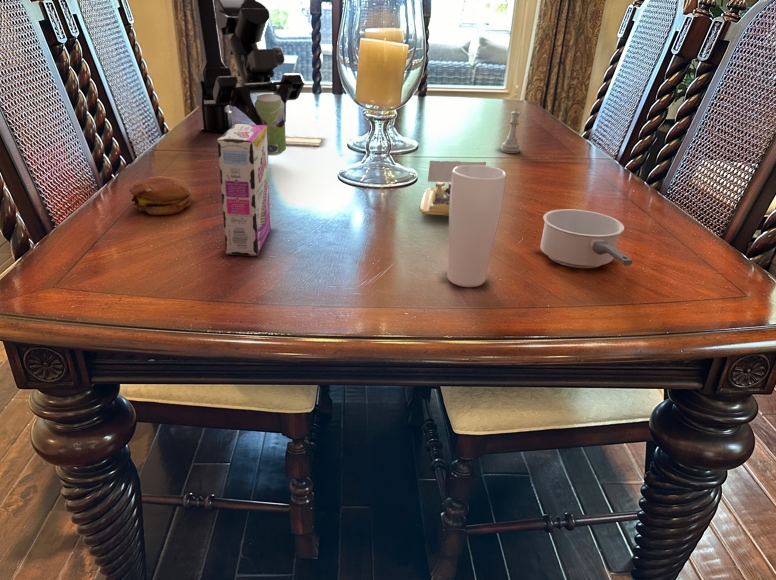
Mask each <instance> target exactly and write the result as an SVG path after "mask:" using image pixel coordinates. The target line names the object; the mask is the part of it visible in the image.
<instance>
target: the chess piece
mask: <svg viewBox="0 0 776 580" xmlns="http://www.w3.org/2000/svg"><path fill="white" fill-rule="evenodd" d="M510 115H511V119H510V121H508V124H509V125H510V129H509V133H508V135H507V137H506V138H505V141H503V142H502V144H501V147H500V151H501V152H502V153H506V154H518V153H519V152H520V143H519V142H518V138H517V126H518V125H520V122H519V120H518V118H519V117H520V115H521V112H520V111H518V108H515V109H514V110H513V111H510Z"/></svg>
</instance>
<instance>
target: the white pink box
mask: <svg viewBox="0 0 776 580" xmlns="http://www.w3.org/2000/svg"><path fill="white" fill-rule="evenodd" d="M232 126H233V127H232V128H231V129H230V130H228V131H227V132H225V133H223V134H222V135H220V137H219V138H217V140H216V142H217V151H218V165H219V166H218V167H219V179H220V191H221V192H220V193H221V204H222V217H223V229H224V240H225V242H224V243H225V254H226V255H229V256H231V255H232V256H246V257H258V256H259V254H260V252H261V249H262V248H263V245H264V243H265V242H266V239H267V238H268V236H269V233H270V232H271V205H270V183H269V182H270V181H269V180H270V179H269V155H268V147H267V126H264V125H256V124H252V123H251V124H250V123H236V124H234V125H232Z"/></svg>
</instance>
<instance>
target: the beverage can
mask: <svg viewBox="0 0 776 580" xmlns="http://www.w3.org/2000/svg"><path fill="white" fill-rule="evenodd" d="M254 107H255V110H256V113H257V115H258V118H259V121H260V125H264V126H267V147H268V156H279V155H282V154H283V153H284V152H285V151H286V150H287V145H286V136H287V135H286V122H285V113H284V103H283V101H282V100H281V97H280V96H279V95H276V94H273V93H260V94H258V95H257V96H256V100H255V101H254Z"/></svg>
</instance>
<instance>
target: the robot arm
mask: <svg viewBox="0 0 776 580" xmlns="http://www.w3.org/2000/svg"><path fill="white" fill-rule="evenodd" d="M215 5H216V7H215ZM193 7H194V13H195V19H196V26H197V31H198V33H197V34H198V39H199V45H200V51H201V52H200V53H201V59H202V64H201V66H200V69H199V71H198V74H197V78H198V81H197V83H196V90H195V95H194V99H195V103H196V105H197V106H199V107H201V112H202V113H201V115H202V125H203V126H202V128H200V131H201V132H211V133H220V134H225V133H226V132H227V131H228V130H230V129H231V128H232V127H233V126H234V125H233V115H232V114H233V113H232V110H230V106H231V107H232V108H234V107H235V108H236V109H238V110H239V111H240V112H241V113H243V114H244V115H245V116H246V117H247V118H248V119H249V120H250V121H251V122H252V123H253V124H254V125H260V121H259V118H258V115H257V113H256V110H255V103H254V101H253V100H252V99H253V98H252V96H251V95H254V94H255V95H256V94H276V95H279V96H280V97H281V100H282V101H283V103H284V113H285V123H286V121H287V102H288V101H296V100H298V99H299V97H300V95H301V92H302V90H303V88H304V86H305V84H306V83H305V80H304V77H303V76H302V74H301V73H283V74H282V77H281V79H280V81H273V80H271V78H274V75H275V72H274V69H276V68H278V67H279V66H280V67H281V66H282V65H283V64H284V63H285V55H284V52H283V49H282V47H281V46H273V47H272V48H260V46H259V43H260V42H262V41H263V39H264V35H265V33H266V29H267V26H268V23H269V20H270V11H269V9H268V8H267V7H266V6H265V5H264V4H262V3H261V2H259V1H257V0H193ZM215 8H216V9H215ZM218 30H219V31H220V33H221V34H222V35H223V36H230V39H229V42H228V43H229V46H230V47H229V54H230V55H231V56H233V58H234V61H235V64H236V67H237V71H236V74H237V76H238V77H240V78H241V79H239V80H238V78H237V76H235V75H232V71H231V69H230V67H228V66H226V64H225V63H224V62H223V59H222V50H221V44H220V38H219V31H218Z"/></svg>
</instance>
